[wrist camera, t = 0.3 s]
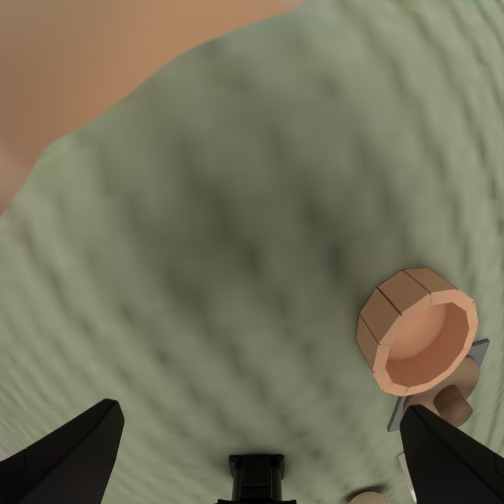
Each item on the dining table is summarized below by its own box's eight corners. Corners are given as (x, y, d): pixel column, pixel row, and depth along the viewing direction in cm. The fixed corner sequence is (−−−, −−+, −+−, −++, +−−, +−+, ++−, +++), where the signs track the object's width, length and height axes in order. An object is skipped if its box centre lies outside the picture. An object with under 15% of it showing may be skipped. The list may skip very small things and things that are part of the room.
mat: (458, 407, 26) (459, 409, 25) (387, 428, 26) (388, 432, 26) (487, 338, 23) (490, 341, 22) (411, 358, 23) (413, 361, 23)
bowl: (436, 354, 23) (457, 381, 19) (350, 371, 24) (364, 404, 19) (458, 264, 21) (488, 283, 16) (363, 272, 21) (385, 298, 17)
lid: (458, 408, 25) (474, 433, 21) (393, 428, 26) (406, 459, 21) (485, 345, 23) (509, 370, 18) (416, 365, 23) (438, 398, 18)
